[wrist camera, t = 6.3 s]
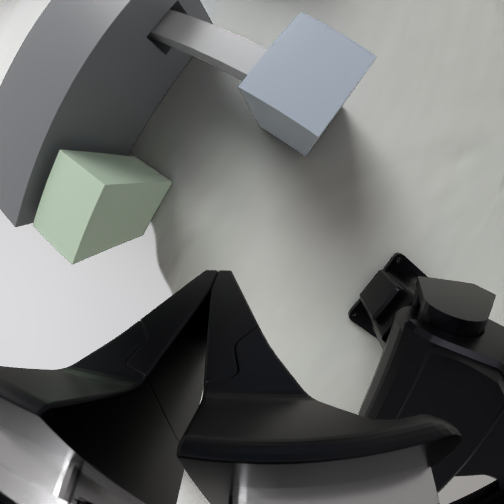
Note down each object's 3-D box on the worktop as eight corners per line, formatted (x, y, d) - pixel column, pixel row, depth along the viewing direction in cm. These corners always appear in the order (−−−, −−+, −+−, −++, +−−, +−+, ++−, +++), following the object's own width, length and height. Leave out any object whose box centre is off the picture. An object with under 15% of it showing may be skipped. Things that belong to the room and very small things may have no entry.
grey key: (343, 104, 18) (377, 56, 10) (305, 156, 20) (318, 137, 11) (175, 18, 18) (128, -37, 9) (140, 62, 19) (78, 21, 10)
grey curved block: (215, 28, 18) (173, -44, 8) (101, 208, 23) (15, 227, 13) (148, 6, 18) (93, -48, 8) (51, 166, 22) (-29, 170, 13)
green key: (172, 182, 21) (105, 184, 13) (142, 235, 23) (72, 264, 14) (66, 111, 21) (-3, 97, 12) (46, 156, 22) (-24, 157, 13)
